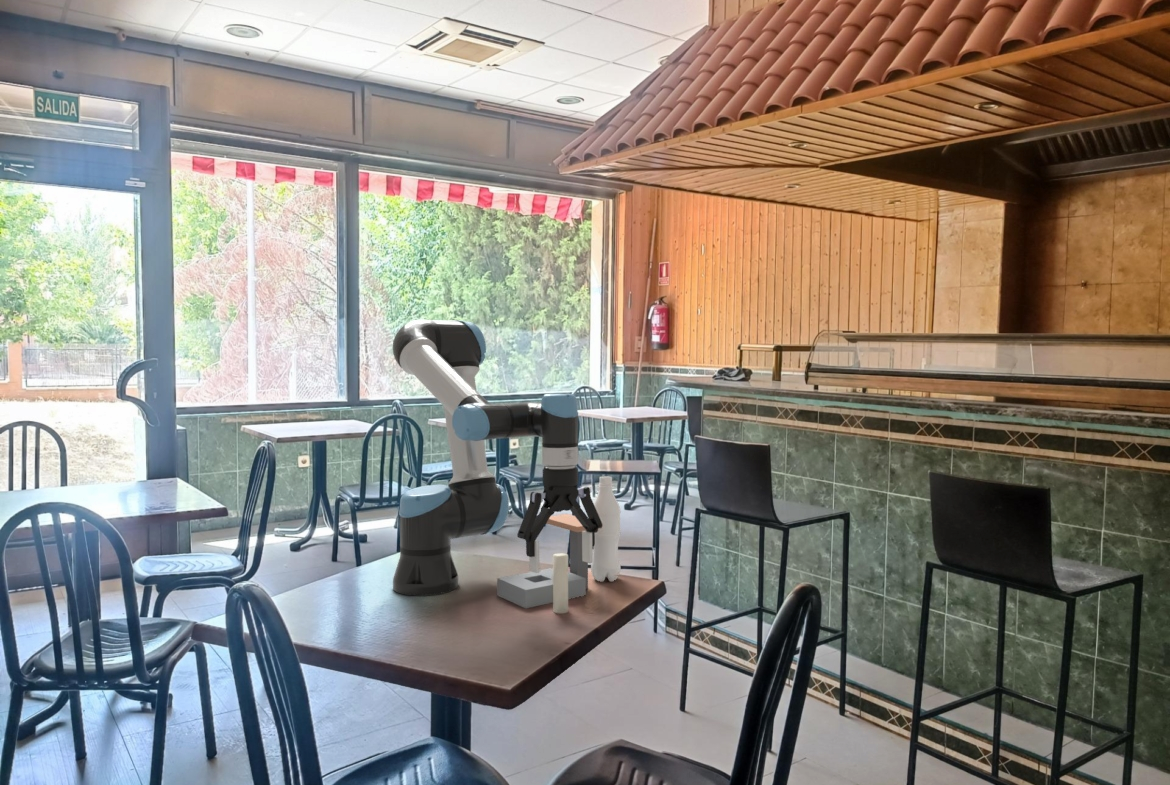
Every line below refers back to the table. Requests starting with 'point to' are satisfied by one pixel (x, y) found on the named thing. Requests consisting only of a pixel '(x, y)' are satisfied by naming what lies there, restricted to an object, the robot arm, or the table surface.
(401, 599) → the table surface
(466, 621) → the table surface
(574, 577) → the socket block
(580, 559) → the wooden topped pedestal
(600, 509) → the water bottle
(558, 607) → the peg
